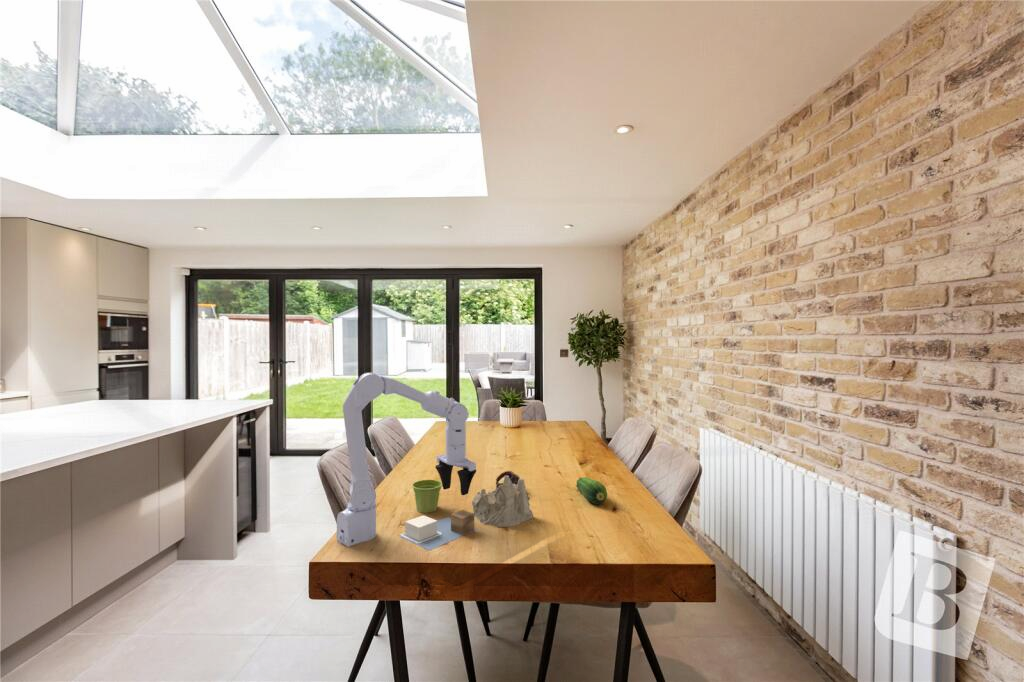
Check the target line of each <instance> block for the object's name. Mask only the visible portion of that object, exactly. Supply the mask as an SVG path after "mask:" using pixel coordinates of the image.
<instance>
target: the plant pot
mask: <svg viewBox="0 0 1024 682" xmlns="http://www.w3.org/2000/svg"><path fill="white" fill-rule="evenodd" d="M411 487H412V488H413V493H414V499H415V500H414V501H415V508H416V511H417V512H420V513H432V512H434V511H437V510H438V504H439V498H440V492H441V489H442V487H443V486H442V482H441V480H438V479H432V478H431V479H428V478H427V479H420V480H417V481H414V482H413V483H412V484H411Z"/></svg>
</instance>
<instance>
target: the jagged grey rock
mask: <svg viewBox="0 0 1024 682" xmlns="http://www.w3.org/2000/svg"><path fill="white" fill-rule="evenodd" d="M502 483H503V485H500V486H499V488H498V489H497V488H496V487H495V488H494V490H491V491H488V492H486V489H485V488H481V490H480V491H477V493H475V497H474V498H473V499H472V501H471V505H472V507H473V513H474V518H476V520H477V521H479V523H482V524H483V525H487V526H491V527H500V528H506V527H514V526H515V527H516V526H518V525H520V524H521V523H523V522H527V521H529V520H532V519H534V518H535V517H534V513H533V511H532V510H531V508H530V505H531V504H530V500H531V498H530V496H529V495H528V493H527V489H526V485H525V478H521V477H520V478H519V480H518V485H515V484H512V481H510V479H509V476H506V475H505V476H504V477H503V482H502Z"/></svg>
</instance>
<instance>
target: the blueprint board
mask: <svg viewBox="0 0 1024 682" xmlns="http://www.w3.org/2000/svg"><path fill="white" fill-rule="evenodd" d="M477 530H478V527H477V528H476V527H474V531H477ZM474 531H471V532H469V533H467V534H464V535H460V534H457V533H455V532H453V531H451V517H448V516H446V517H443V518H441V519H439V520H437V534H436V535H433V536H431V537H428V538H426V539H424V540H421V541H417V540H415V539H413V538H411V537H409V536H407V535H405V532H404V533H401V534H399V535H398V537H400V538H401V539H404V540H406V541H408V542H410V543H412V544H414V545H417V546H418V547H421V548H423V549H425V550H427V551H432V550H433V549H434V550H435V549H436V548H439V547H440V546H442V545H445V544H447V543H449V542H452V541H454V540H457V539H458V538H461V537H463V536H466V535H469V534H471V533H473V532H474Z"/></svg>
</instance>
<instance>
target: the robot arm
mask: <svg viewBox="0 0 1024 682" xmlns="http://www.w3.org/2000/svg"><path fill="white" fill-rule="evenodd" d="M382 394H383V395H384V396H387V395H393V394H395V395H398V396H401V397H403V398H406V399H408V400H411V401H412V402H413V401H414V402H417V403H419V404H420V407H421V409H422V410H423V411H425V412H427V413H430V414H433V415H435V416H437V417H440V418H442V419H443V418H445V422H446V423H445V455H443V454H440V455H436V463H437V464H436V465H435V469H436V472H437V473H438V475H439V478H440V481H441V482H442V486H441V487H442V489H443V490H448V489H450V488H451V484H452V481H451V480H452V473H453V469H454V467H456V468H457V467H458V468H461V469H460V470H457V471H456V473H457V475H458V478H459V483H460V484H459V485H460V494H461V496H465V495H468V494H469V490H470V487H471V483H472V480H473V478H474V476H475V474H476V472H477V463H476V462H473V461H472V460H470V459H469V458H468V456H467V455H466V454H467V453H466V450H467V449H466V446H467V445H466V443H467V442H466V440H467V439H466V438H467V437H466V435H467V434H466V431H467V428H466V422H467V420H468V418H469V412H468V411H469V410H468V408H467V407H466V405H464V404H462V403H461V402H458V401H456V400H455V399H454V398H453V397H450V398H449V397H446V396H444V395H442V394H440V391H437V390H436V389H435V390H434V391H432V390H428V391H426V392H423V391H421V390H418V389H417V388H415V387H412V386H410V385H407V384H405V383H403V382H401V381H399V380H397V379H394V378H392V377H389V376H384V375H378V374H376V373H375V372H364V373H363V374H361V375H360V376H359V377H358V378H357V379H356V380H355V381H354V382H353V383H352V386H351V388H350V390H349V391H348V392H347V395H346V397H345V399H344V401H343V403H342V413H343V419H344V420H343V421H344V428H345V436H346V437H345V438H346V445H347V453H348V460H349V461H348V462H349V468H350V469H349V470H350V477H351V481H350V483H349V486H348V491H349V495H350V496H349V497H350V498H349V499H350V500H349V503H348V504H347V507H346V508H345V509H344V510H342V511H340V512H338V514H337V517H336V541H337V542H339V543H341V544H343V545H344V546H346V547H351V546H353V545H357V544H360V543H363V542H368V541H371V540H373V539H374V538H375V537H376V535H377V502H376V500H377V499H376V498H377V492H376V490H375V488H374V483H373V481H372V479H371V476H370V471H369V463H368V454H367V446H366V439H365V429H364V422H363V412H362V411H363V410H364V409H365V408H366V406H367V405H368V404H369V403H370V402H372V401H374V400H375V399H377V398H378V397H379V396H381V395H382Z"/></svg>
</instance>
